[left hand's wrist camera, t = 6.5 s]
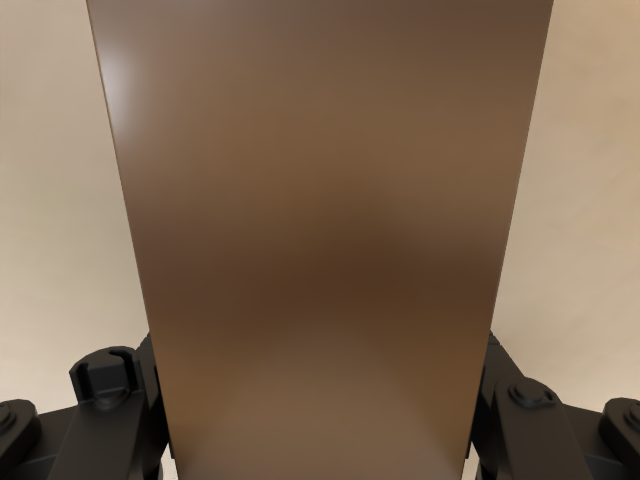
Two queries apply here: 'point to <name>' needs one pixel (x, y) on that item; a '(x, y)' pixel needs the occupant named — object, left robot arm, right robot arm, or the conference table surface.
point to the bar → (319, 220)
